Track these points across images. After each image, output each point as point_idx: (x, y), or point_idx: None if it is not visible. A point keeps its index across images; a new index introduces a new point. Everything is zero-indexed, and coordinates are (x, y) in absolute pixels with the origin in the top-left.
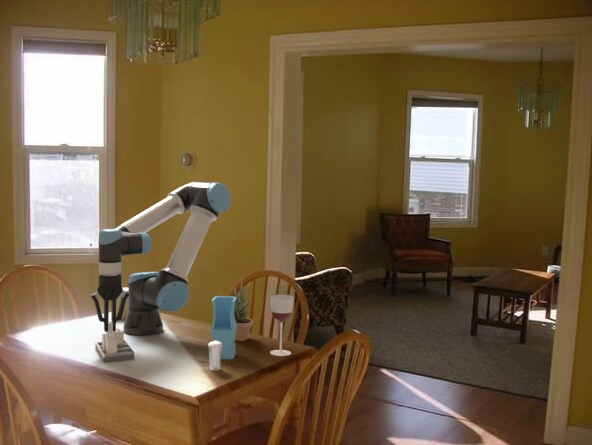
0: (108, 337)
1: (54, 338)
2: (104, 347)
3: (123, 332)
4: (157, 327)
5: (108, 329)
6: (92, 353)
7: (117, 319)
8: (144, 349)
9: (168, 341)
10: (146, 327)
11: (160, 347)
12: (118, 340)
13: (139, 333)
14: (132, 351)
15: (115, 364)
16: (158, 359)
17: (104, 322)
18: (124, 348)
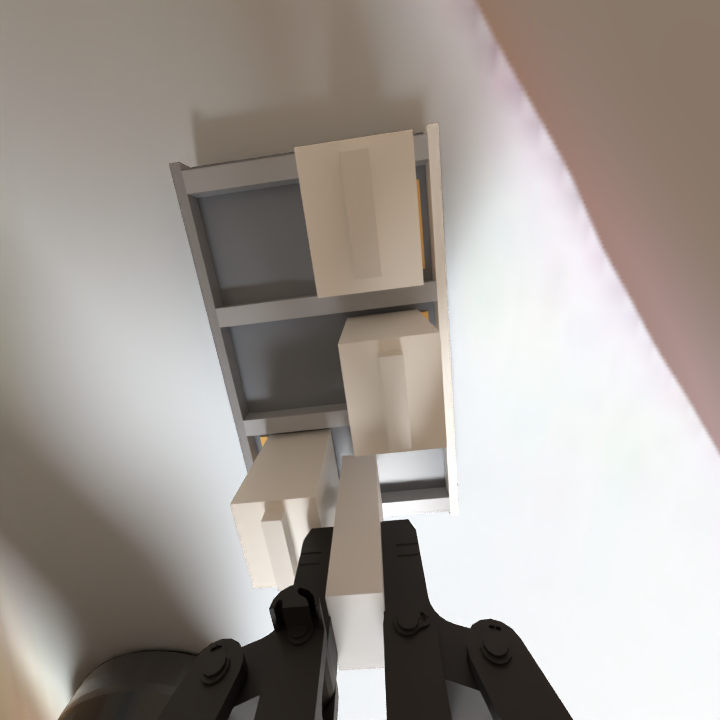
0: (389, 335)
1: (632, 692)
2: (417, 313)
3: (236, 496)
4: (72, 707)
5: (379, 528)
6: (477, 390)
7: (254, 661)
8: (146, 401)
9: (17, 526)
10: (128, 706)
11: (47, 421)
12: (298, 451)
13: (189, 666)
14: (188, 199)
15: (341, 60)
16: (15, 125)
17: (434, 618)
18: (257, 307)
